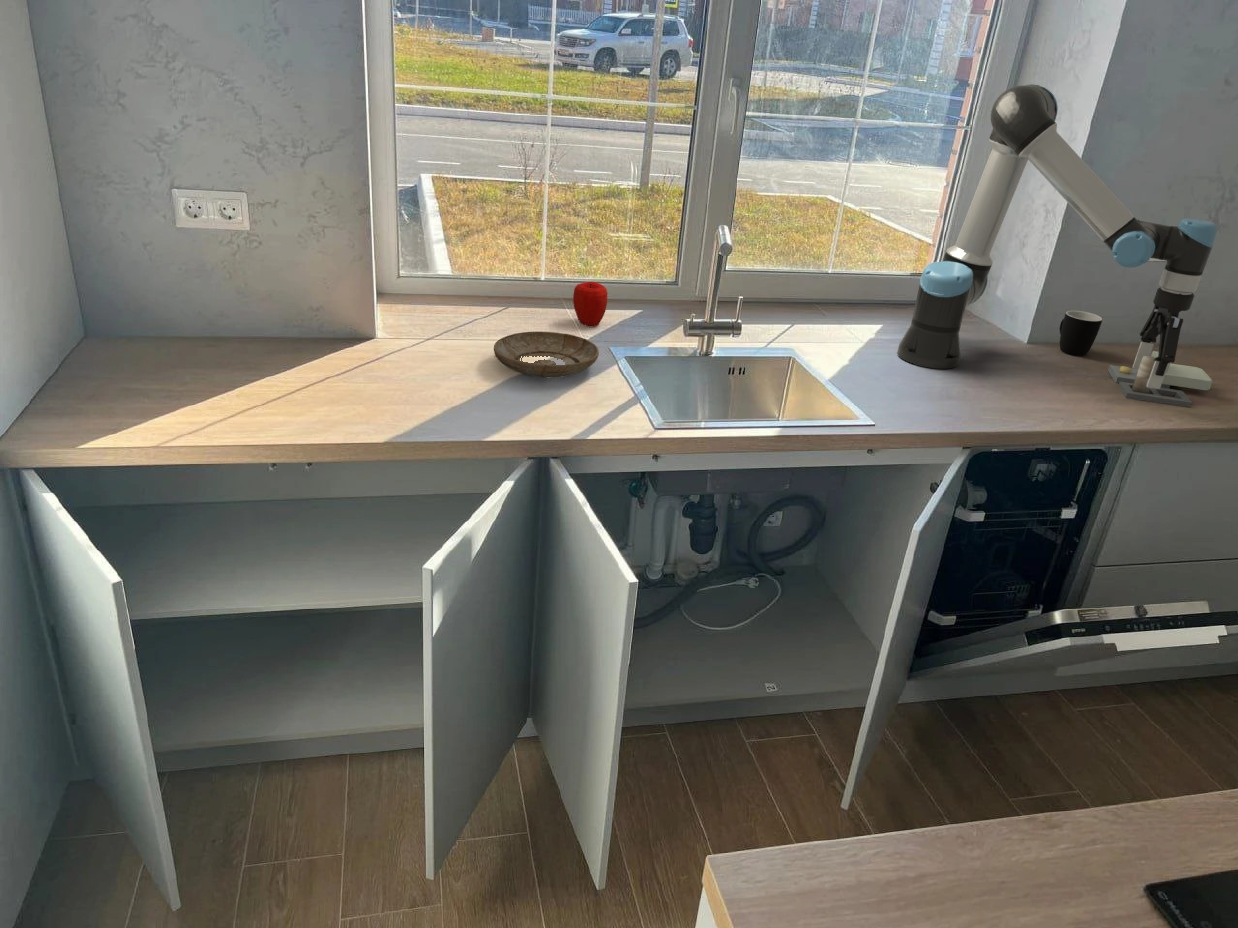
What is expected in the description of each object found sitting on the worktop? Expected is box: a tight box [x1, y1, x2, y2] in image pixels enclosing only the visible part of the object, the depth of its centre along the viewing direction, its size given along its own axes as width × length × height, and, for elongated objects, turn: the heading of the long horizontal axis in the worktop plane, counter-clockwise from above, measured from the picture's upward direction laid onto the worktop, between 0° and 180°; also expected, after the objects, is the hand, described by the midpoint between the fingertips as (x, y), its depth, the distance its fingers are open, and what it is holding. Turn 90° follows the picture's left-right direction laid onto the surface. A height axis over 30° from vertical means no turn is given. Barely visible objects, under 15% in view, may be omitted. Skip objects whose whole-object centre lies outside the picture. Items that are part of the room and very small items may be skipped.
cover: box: [1150, 350, 1214, 391], centre depth 224 cm, size 13×10×5 cm
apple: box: [572, 281, 608, 327], centre depth 233 cm, size 9×9×11 cm
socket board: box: [1117, 382, 1193, 408], centre depth 218 cm, size 14×8×1 cm, turn 75°
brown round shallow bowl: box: [493, 331, 600, 378], centre depth 204 cm, size 23×24×5 cm
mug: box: [1059, 310, 1103, 357], centre depth 244 cm, size 12×9×10 cm
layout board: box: [1107, 364, 1171, 389], centre depth 227 cm, size 12×9×3 cm
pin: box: [1132, 355, 1155, 394], centre depth 216 cm, size 4×4×9 cm
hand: (1145, 378), depth 216 cm, fingers open, 13 cm apart
